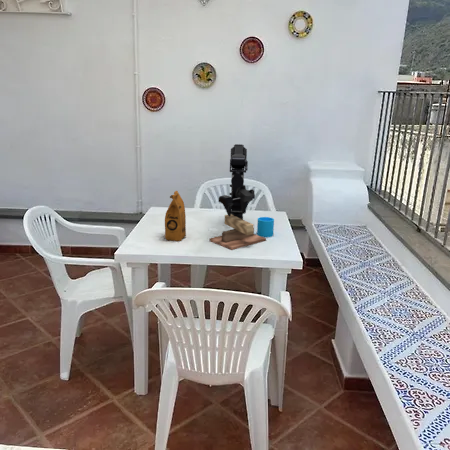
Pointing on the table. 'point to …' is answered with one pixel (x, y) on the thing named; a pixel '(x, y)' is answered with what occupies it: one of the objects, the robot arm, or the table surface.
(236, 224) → the oak bar
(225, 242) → the fulcrum stand
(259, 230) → the mug
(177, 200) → the coffee package
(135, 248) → the table surface
